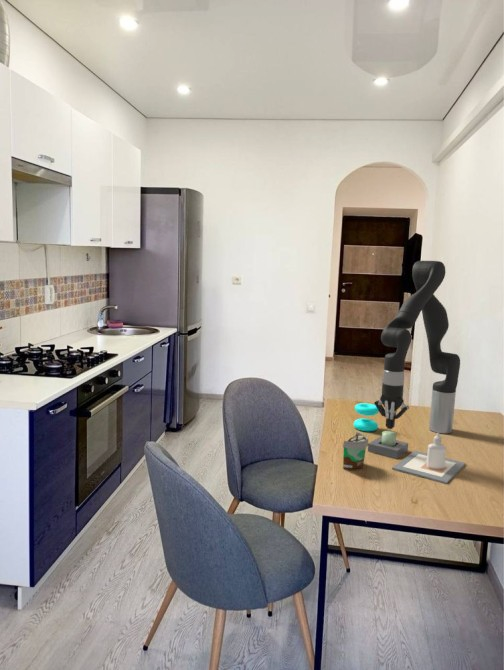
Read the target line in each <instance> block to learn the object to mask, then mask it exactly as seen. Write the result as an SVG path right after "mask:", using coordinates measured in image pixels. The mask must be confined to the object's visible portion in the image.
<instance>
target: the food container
mask: <svg viewBox="0 0 504 670" xmlns="http://www.w3.org/2000/svg"><path fill="white" fill-rule="evenodd" d="M368 440H369V439H368V437H367V435H365V434H363V433H360V432H355V435H354V436H353V437H350V438H349V439H348V440H343V443H342V444H343V445H342V446H343V447H342V448H343V464H342V466H343V467H342V469H343V470H346V469H348V470H347V471H357V470H358V471H359V470H362V469H363V468H364V463H365V458H366V457H365V455H366V450H367V448H368V444H369V441H368Z"/></svg>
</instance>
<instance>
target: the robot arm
mask: <svg viewBox="0 0 504 670" xmlns="http://www.w3.org/2000/svg"><path fill="white" fill-rule="evenodd" d="M411 276H412V280H413V283H414V286H415V287H414V288H415V290H416V292H415V293H413V294H412V295H410V296H409V297H408V298H407V299H406V300H405V301H404V302H403V303H402V305H401V307H400V309H399V310H398V312H397V314H396V316H395V317H394V318H393V319H392V320H391V321H390V322H389V323H388V324H387V325H385V327H384V328H383V330H382V332H381V335H380V340H381V343H382V344H383V345H384V346H386V347H389V348H396V350H395V352H391V353H390V352H389V353H387V354H385V356H384V362H383V363H384V365H383V373H382V378H381V381H382V385H381V396H380V398H379V399H378V400H376V401H374V403H373V404H374V405H376V407H377V409H378V410H379V412H378V413H379V414H380V415H381V417H384V418H386V419H385V427H386V429H389V430H392V429H394V428H395V425H396V424H395V423H396V420H398V419H399V418H401V417H402V416H403V415H405V413H406V412H407V411H408V410H409V409H410V406H409V405H406V404H405V403H404V402H405V401H404V397H403V396H404V387H405V386H404V385H405V363H406V362H405V361H406V358H407V354H408V351H409V348H410V346H411V344H412V333H411V332H410V329H411V328H413V327H414V325H415V324H416V322H417V320H418V318H419V316H420V315H422V321H423V325H424V329H425V334H426V339H427V347H428V354H429V357H428V358H429V365H430V370H432V372H433V373H435V374H439V375H444V376H445V379H443V380H441V381H440V380H439V381H435V382H433V384H432V389H431V390H432V391H431V402H430V403H431V404H430V413H429V414H430V415H429V425H428V430H429V431H431V432H434V433H436V434H437V433H439V434H451V433H453V425H454V416H455V415H454V414H455V406H456V405H455V404H456V394H457V386H458V383H459V382H458V381H459V376H460V369H461V357H460V356H459V355H458V354H457V353H452V352H447V351H442V347H441V344H442V340H443V338H444V337H445V335H446V334H447V332H448V330H449V325H450V323H449V318H448V312H447V310H446V307H445V306H444V305H443V304H442V302H441V301H440V300H439V299H438V298H437V296H435V293H436V291H437V290H438V288H439V287H440V286H441V285H442V283H443V282H444V279H445V276H446V266H445V264H444V263H443V262H442V261H440V260H439V261H438V260H417V261H416V262H414V264H413V265H412V274H411ZM421 313H422V314H421ZM399 408H400V410H399ZM398 410H399V412H398ZM397 412H398V413H397Z"/></svg>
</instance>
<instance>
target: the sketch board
mask: <svg viewBox="0 0 504 670" xmlns="http://www.w3.org/2000/svg"><path fill="white" fill-rule="evenodd" d="M426 463H427V453H426V452H422V451H418V450H414V451H412V452H411V453H410V454H408V455H407V456H406V457H404V458H403V459H401V460H400V461H399V462H398V463H396V464H395V465H394V466H392V467H391V469H392V470H393V471H397V472H401V473H404V474H408V475H411V476H416V477H420V478H423V477H424V479H426V478H428V479H427V480H430V479H431V481H434V480H435V481H434V482H438V483H442V484H446V485H447V484H448V483H449V482H450V481H451V480H452V479H453V478H454V477H455V476H456V475H457V474H458V473H459V472H460V471H461V470H462V469H463V468H464V467H465V466H466V464H467V462H464V461H460V460H456V459H451V458H447V457H445V464H444V468H443V469H430V468H428V467H427V466H426Z"/></svg>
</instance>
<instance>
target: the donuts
mask: <svg viewBox="0 0 504 670" xmlns="http://www.w3.org/2000/svg"><path fill="white" fill-rule="evenodd" d="M354 410H355V412H356V413H357V414H358V415H362V416H368V417H369V416H371V417H372V416H375V415H377V414H378V413H380V412H379V410H378V409H377V407H376V405H375V404H374V403H370V402H369V403H368V402H363V403H362V402H361V403H356V405H355V406H354ZM353 427H354V428H355V429H356V430H359V431H361V432H375V431H377V430H378V428H379V424H378V422H376V421H375V420H374V419H369V418H365V417H364V418H358V419H355V420H354V422H353Z"/></svg>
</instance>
